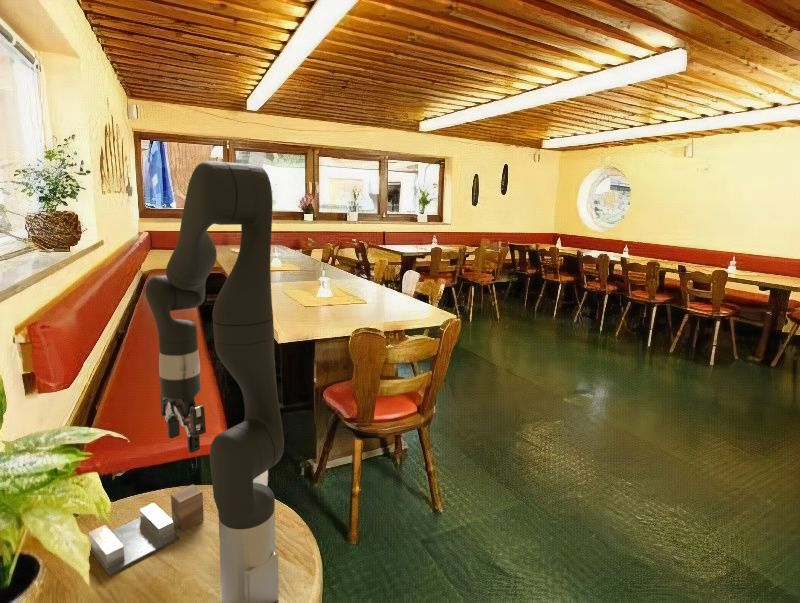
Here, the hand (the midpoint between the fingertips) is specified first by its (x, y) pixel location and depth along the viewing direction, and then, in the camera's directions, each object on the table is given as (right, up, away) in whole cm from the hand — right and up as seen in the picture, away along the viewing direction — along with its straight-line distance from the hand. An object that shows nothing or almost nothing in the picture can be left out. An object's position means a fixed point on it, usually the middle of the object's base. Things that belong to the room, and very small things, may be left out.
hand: (183, 443), depth 98 cm
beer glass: (+13, -19, +5) cm, 23 cm away
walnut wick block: (-1, -18, +4) cm, 19 cm away
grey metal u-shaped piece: (-9, -19, -3) cm, 21 cm away
